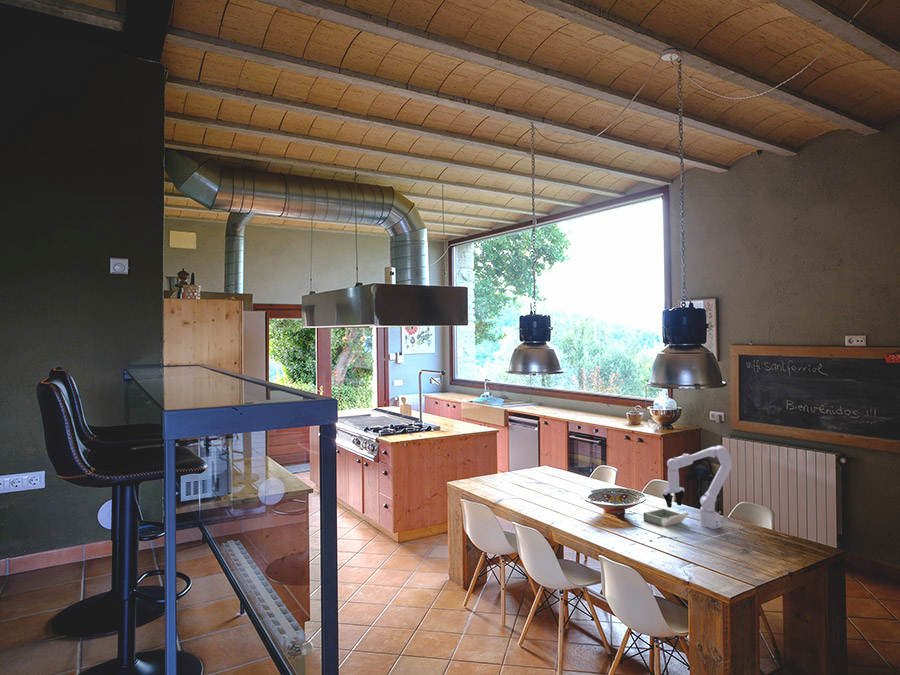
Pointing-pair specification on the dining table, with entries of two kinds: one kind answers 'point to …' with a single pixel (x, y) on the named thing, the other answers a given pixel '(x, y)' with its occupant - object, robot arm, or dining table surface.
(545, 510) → the dining table surface
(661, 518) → the cart bed
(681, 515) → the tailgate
